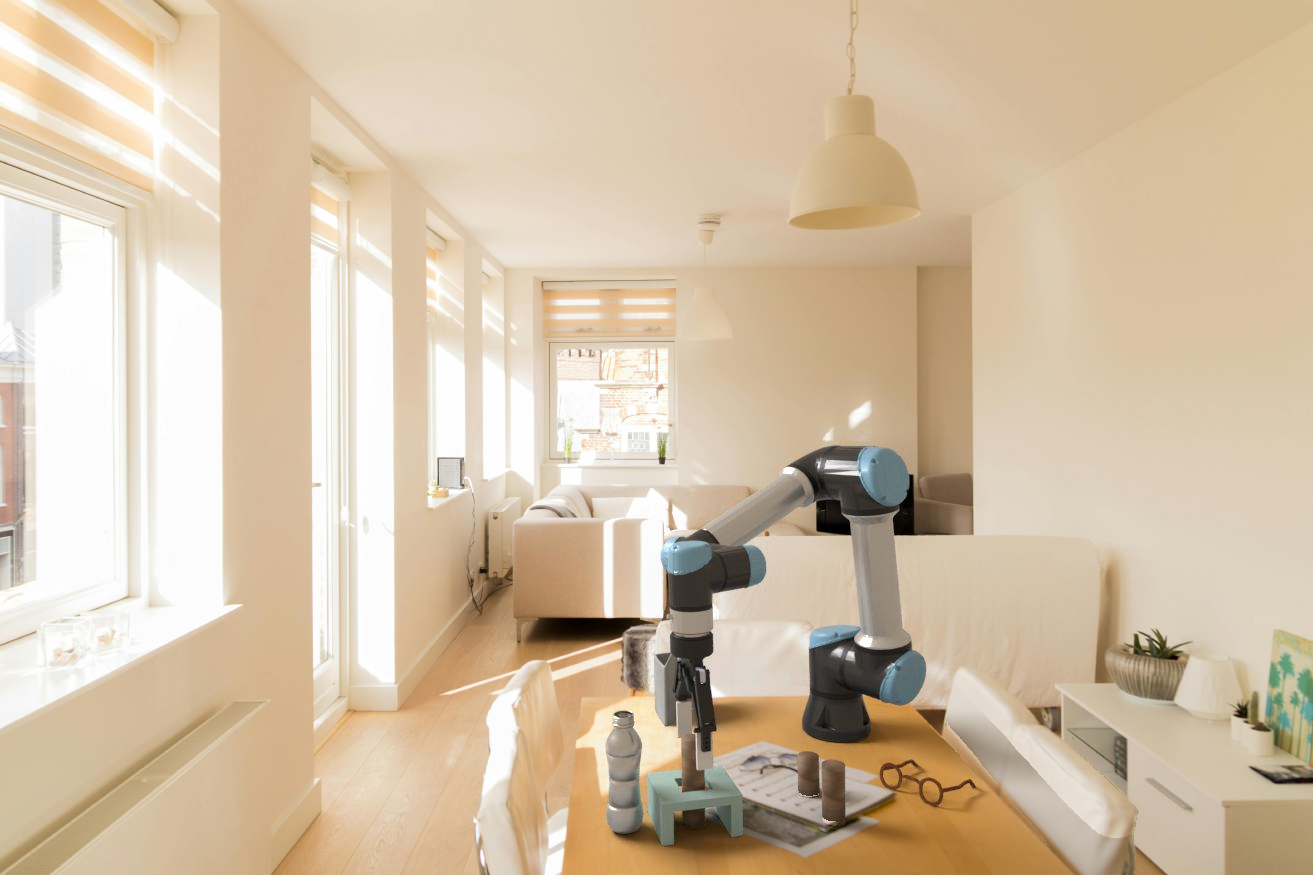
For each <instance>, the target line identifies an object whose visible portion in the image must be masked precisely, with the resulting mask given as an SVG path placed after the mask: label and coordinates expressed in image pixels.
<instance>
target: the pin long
mask: <svg viewBox="0 0 1313 875" xmlns="http://www.w3.org/2000/svg"><path fill="white" fill-rule="evenodd" d="M680 744H681V745H680V746H681V747H680V748H681V758H680V759H681V770H682V786H681V792H682V793H683V792H691V791H700V790H706V785H705V770H697V769H696V733H692V734H687V735H684V736H682V737H681V738H680ZM681 815H682V816H681V819H682V821H681V822H682V826H683V827H685V828H686V829H690V830H698V829H701V828H703V827H705V825H706V808H701V809H693V810H685V811H681Z"/></svg>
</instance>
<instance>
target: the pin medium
mask: <svg viewBox="0 0 1313 875" xmlns="http://www.w3.org/2000/svg"><path fill="white" fill-rule="evenodd" d="M822 817H823V818H824V819H826V820H828V821H836V822H839V823H837V825H836V827H838V828H839V827H843V826H844V825H846V820H845V818H846V764H845V762H843V761H841V760H839V759H838V760H837V759H825V760H823V761H822V762H821V818H822ZM846 819H847V818H846ZM836 827H835V828H836Z"/></svg>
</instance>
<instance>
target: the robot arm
mask: <svg viewBox="0 0 1313 875" xmlns="http://www.w3.org/2000/svg"><path fill="white" fill-rule="evenodd" d="M909 489H910V474H909V470H908V467H907V465H906V463H905V461H904V459H903V457H902V456H900V455H899V454H898V453H897V452H896V451H895V450H894V449H892V448H888V447H880V446H876V445H837V444H836V445H835V444H834V445H828V446H823V447H820V448H819V449H815V450H813V451H810V452H809V453H807V454H805V455H803V456H801V457H799V458H798V459H796V460H794V461H793V462H791V463H789V464H788V465H787V466H785V467H783V468H782V469H781V470H780V471H779V473H778V476H777V477H776V478H775V479H773V480H772V481H770V482H769V483H767V484H766V485H765V486H763V487H761V488H760V489H759V490H757V491H756V492H754V493H752V494H751V495H749V496H747V498H744V500H742V501H740V502H739V503H738V504H735V505H734V506H733V507H731V508H729V509H728V510H727V511H725V512H723V513H722V514H720V515H719V516H717V517H716V518H714V519H713V520H712V521H709V523H707V524H705V525H704V526H702V527H701V528H699V529H697V530H696V531H695V532H693V533H691V534H690V535H688V536H687V537H685V536H674V537H673V536H672V537H671V538H669V539H668V540H666V541H665V543H663V545H662V548H661V551H660V561H661V565H662V567H663V569H664V570H665V571H666V572H667V577H668V578H667V580H668V602H669V603H668V606H669V613H668V614H666V620H669V630H670V631H671V632H670V634H669V646H670V647H669V650H670V651H669V652H671V654H672V655H673V656H675V657H676V665H675V674H674V683H673V693H676V694H675V698H676V700H678V702H676V716H677V720H676V738H677V739H681V737H682V736H684V735H687V734H696V769H697V770H705V769H713V766H714V750H713V749H714V744H713V738H714V737H713V732H714V733H715V732H717V722H716V716H715V708H714V701H713V693H712V686H711V675H710V674H711V671H710V668H707V666H706V665H704V659H706V658H708V657H711V655H712V654H713V653H714V633H713V632H712V630H714V610H713V609H714V608H713V607H714V606H713V597H714V596H713V595H714V594H718V593H723V592H730V591H734V590H741V589H748V588H749V587H752V586H753V587H754V586H757V585H759V584H760V583H762V582H763V580H764V578H765V577H766V574H767V560H766V557H765V554H764V553H763V552H762V550H761V549H760V548H759V547H758V546H756V545H753V544H747V543H749V542H750V541H752V540H754V539H755V538H756V537H757V536H759V535H760V534H762V533H763V532H765V531H766V530H767V529H769V528H771V527H772V526H773V525H775V524H776V523H777V522H779V521H780V520H782V519H784V517H787V515H790V514H791V513H793V511H795V510H796V509H798V508H807V507H809V506H811V505H812V504H813V503H816V502H819V501H824V500H825V501H826V500H835V501H840V509H841V515H843V517H845V519H847V520H849V524H850V525H849V526H850V536H851V544H852V556H853V566H854V576H855V584H856V585H855V586H856V596H857V604H858V605H857V606H858V615H859V616H858V617H859V625H860V626H858V625H852V624H851V625H849V624H838V625H837V624H836V625H827V626H822V627H821V626H820V627H817V628H815V629H814V630H812V631H811V632H810V635H809V646H808V664H809V668H808V669H809V670H808V671H809V696H808V698H807V702H806V704H805V707H804V710H803V714H802V718H801V721H802V723H801V724H802V730H803V732H804V733H806V734H807V735H808V736H811V737H812V738H815V739H819V740H822V741H826V742H832V743H833V742H835V743H837V742H838V743H851V742H857V741H861V740H862V741H863V740H864V739H866V738H868V737H870V735H871V732H872V720H871V718H870V715H869V712H868V710H867V706H866V703H865V700H864V696H867V697H869V698H872V699H874V700H875V699H876V700H878V701H881V702H882V703H883V704H891V705H894V706H898V707H899V706H906V705H907V704H910V703H911V702H912V701H914V700H915V698H917V696H918V695H919V693H920V692H921V690H922V688H923V686H924V684H925V681H926V677H927V676H926V675H927V664H926V663H927V662H926V659H925V657H924V656H923V655H922V654H921V653H920V652H919V651H916V650H915V649H914V650H913V643H912V636H911V634H910V633H909V632H908V631H906V629H904V628H903V627H904V626H903V619H902V618H903V617H902V606H901V605H902V604H901V595H900V584H899V574H898V564H897V553H896V552H897V551H896V541H895V533H894V532H895V531H894V529H895V528H894V522H893V520H894V519H893V518H894V516H895V515H897V513H898V512H900V504H901V503H902V502H903V501H904V500H905V499H906V498H907V495H908V491H909ZM687 699H692V702H693V709H692V702H691V700H687ZM693 712H694V717H695V718H694V719H695V722H696V727H694V728H693Z"/></svg>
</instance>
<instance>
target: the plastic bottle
mask: <svg viewBox="0 0 1313 875" xmlns="http://www.w3.org/2000/svg"><path fill="white" fill-rule="evenodd" d="M634 716H635V714H634V712H632V711H630V710H617V711H615V712H613V714H612V726H613V728H612V730H611V731H610V733H609V734H608V736H607V738H606V740H605V741H606V742H605V754H606V760H607V761H606V762H607V766H608V779H609V780H608V781H609V783H608V784H609V787H608V801H607V804H606V805H607V806H606V814H605V816H606V822H607V825H608V826H609V829H611V831H612V832H614V833H618V834H623V835H624V834H626V835H627V834H631V833H635V832H637V831H639V829H640V827H641V826H642V825H643V822H644V816H645V813H644V807H643V801H642V796H641V795H642V794H641V786H640V785H641V784H640V777H641V776H640V769H641V768H640V766H641V758H642V753H643V752H642V750H643V742H642V739H641V736H640V735H639V733H638V732H637V730H636V729H635V728H634V726H635V718H634Z"/></svg>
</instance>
